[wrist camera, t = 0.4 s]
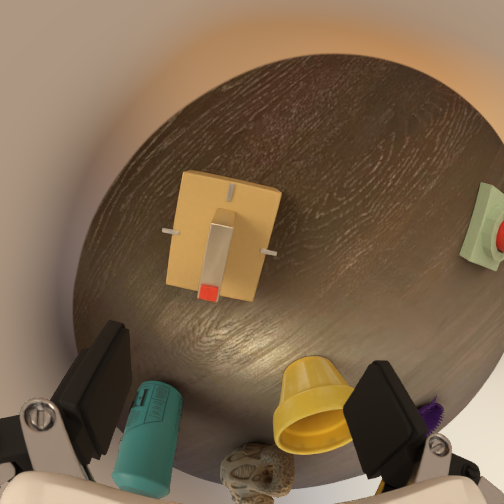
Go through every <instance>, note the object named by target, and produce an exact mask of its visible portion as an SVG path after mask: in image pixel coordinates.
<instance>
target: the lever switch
mask: <svg viewBox="0 0 504 504" xmlns="http://www.w3.org/2000/svg"><path fill="white" fill-rule="evenodd" d="M281 196H282V193H281V192H280V191H279V190H278V189H276V188H272V187H268V186H264V185H260V184H256V183H251V182H247V181H243V180H238V179H233V178H229V177H224V176H219V175H214V174H209V173H204V172H199V171H194V170H188V171H185V172H183V176H182V181H181V186H180V192H179V197H178V203H177V208H176V214H175V221H174V227H173V229H168V228H163V230H162V232H165V233H169V234H172V240H171V247H170V255H169V262H168V270H167V279H166V284H168V285H172V286H177V287H181V288H186V289H190V290H195V291H198V288H199V282H200V276H201V271H202V265H203V260H204V254H205V249H206V244H207V239H208V234H209V229H210V224H211V221H212V219H213V216H214V214H215V212H216V209H217V208H222V209H226V210H231V211H235V223H234V231H233V235H232V240H231V244H230V249H229V253H228V258H227V262H226V267H225V272H224V276H223V281H222V285H221V290H220V295H219V296H224V297H229V298H235V299H240V300H245V301H250V302H253V299H254V295H255V292H256V288H257V285H258V281H259V277H260V274H261V270H262V266H263V263H264V259H265V255H266V254H269V255H274V256H276V255H277V251H272V250H267V248H268V244H269V241H270V237H271V233H272V229H273V226H274V222H275V218H276V214H277V211H278V207H279V203H280V199H281Z"/></svg>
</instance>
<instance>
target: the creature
mask: <svg viewBox="0 0 504 504" xmlns="http://www.w3.org/2000/svg"><path fill="white" fill-rule="evenodd" d="M436 397H437V396H436ZM436 397H435V398H434V400H433V401H432V402H431V403H428V404H425V405H423V406H422V407H420V408H419V409H417V410H418V412H419V413H420V415H421V417H422V419H423V421H424V422H425V424H426V426H427V428H428V430H429V432H430V433H431V434H432V431H435V430H434V428H435V429H437V428H436V426H439V425H438V424H437V423H440V422H439V421H438V420H441V419H440V418H443V417H442V416H440V415H443V414H442V413H444V412H443V411H444V410H443V409H444V408H443V407H442V406H441V405H440V404H438V403H435V400H436ZM444 416H445V415H444ZM439 417H440V418H439ZM441 421H442V420H441ZM440 424H441V423H440ZM435 425H436V426H435ZM431 430H432V431H431ZM429 432H428V433H427V434H428V435H427V434H426V437H427V436H429V435H430V433H429Z"/></svg>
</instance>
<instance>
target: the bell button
mask: <svg viewBox="0 0 504 504" xmlns="http://www.w3.org/2000/svg"><path fill="white" fill-rule="evenodd" d="M496 247H497V248H498V249H499V250H501V251H502V252H504V220H503V222H502V223H501V225H500V226H499V229H498V233H497V236H496Z"/></svg>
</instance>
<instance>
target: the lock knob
mask: <svg viewBox="0 0 504 504" xmlns="http://www.w3.org/2000/svg"><path fill="white" fill-rule="evenodd" d="M234 223H235V211H231V210H226V209H222V208H217V209H216V212H215V214H214V216H213V219H212V221H211V224H210V229H209V234H208V239H207V244H206V249H205V254H204V260H203V265H202V271H201V276H200V282H199V288H198V294H197V298H198V299H202V300H207V301H212V302H218V300H219V295H220V290H221V285H222V281H223V276H224V272H225V267H226V262H227V258H228V253H229V249H230V244H231V240H232V235H233V231H234Z"/></svg>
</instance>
